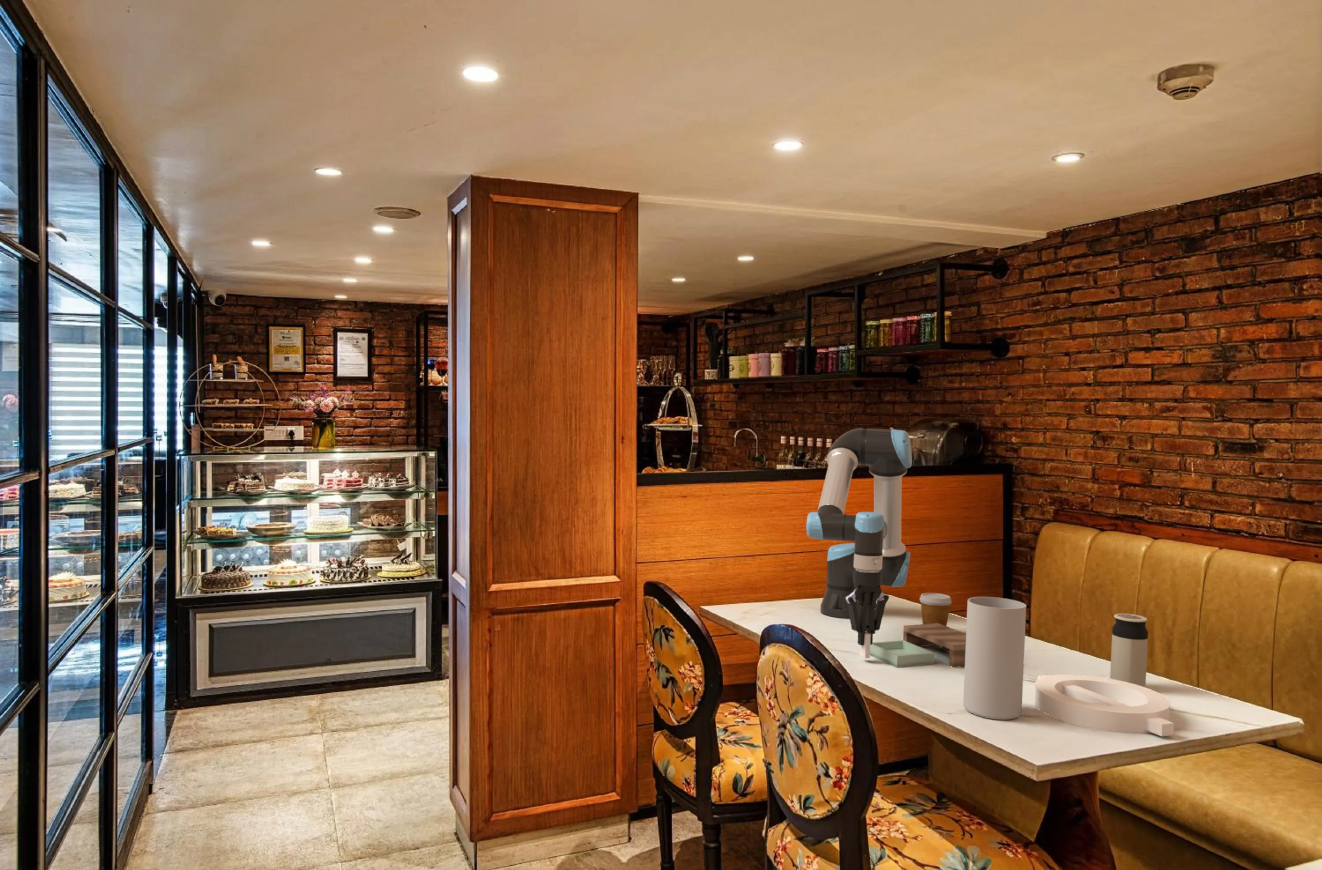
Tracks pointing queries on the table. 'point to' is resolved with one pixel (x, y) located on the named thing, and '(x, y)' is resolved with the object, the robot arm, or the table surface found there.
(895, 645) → the green tray
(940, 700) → the table surface
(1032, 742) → the table surface
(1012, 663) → the cylinder vase
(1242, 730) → the table surface
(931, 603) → the disposable coffee cup
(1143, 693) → the ring with crossbar
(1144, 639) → the travel mug
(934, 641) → the walnut overhang
